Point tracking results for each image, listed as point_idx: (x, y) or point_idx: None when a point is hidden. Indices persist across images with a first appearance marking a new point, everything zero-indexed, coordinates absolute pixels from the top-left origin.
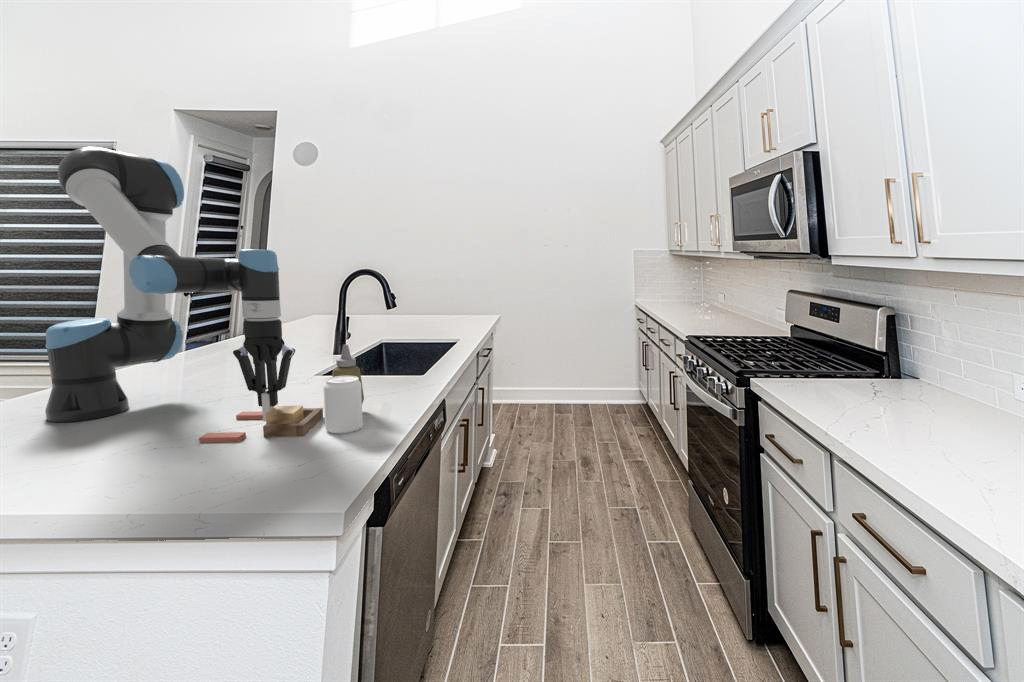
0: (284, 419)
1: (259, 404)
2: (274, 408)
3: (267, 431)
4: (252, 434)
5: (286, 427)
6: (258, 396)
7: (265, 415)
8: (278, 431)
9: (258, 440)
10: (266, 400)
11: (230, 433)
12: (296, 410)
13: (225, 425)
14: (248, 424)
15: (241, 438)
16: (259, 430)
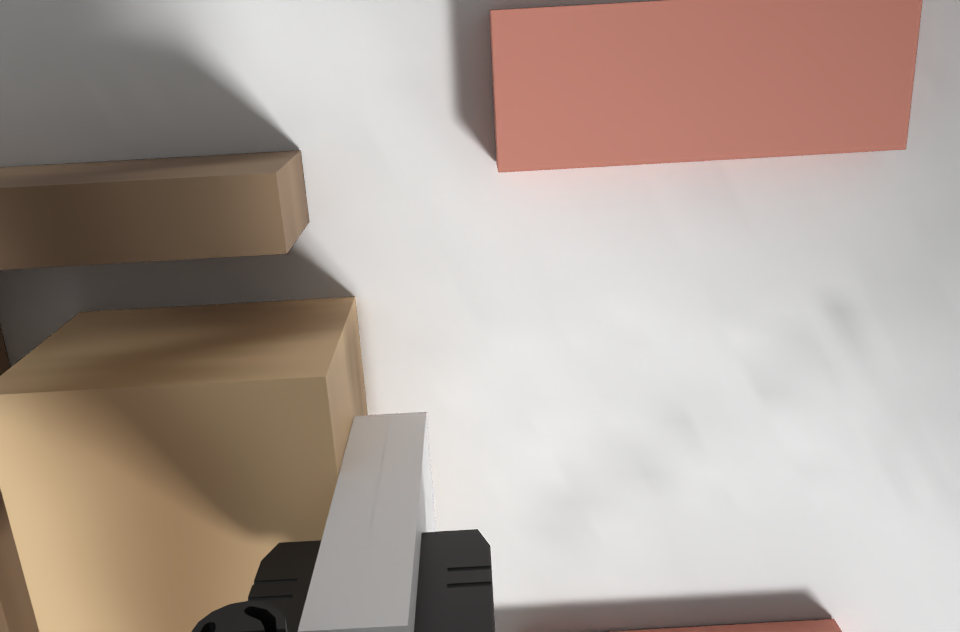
0: (116, 356)
1: (472, 545)
2: None
3: (242, 162)
4: (463, 228)
5: (6, 182)
6: (480, 621)
7: (393, 446)
8: (121, 169)
9: (301, 53)
10: (346, 561)
11: (641, 129)
12: (10, 509)
13: (860, 466)
14: (651, 497)
15: (492, 71)
16: (455, 341)
